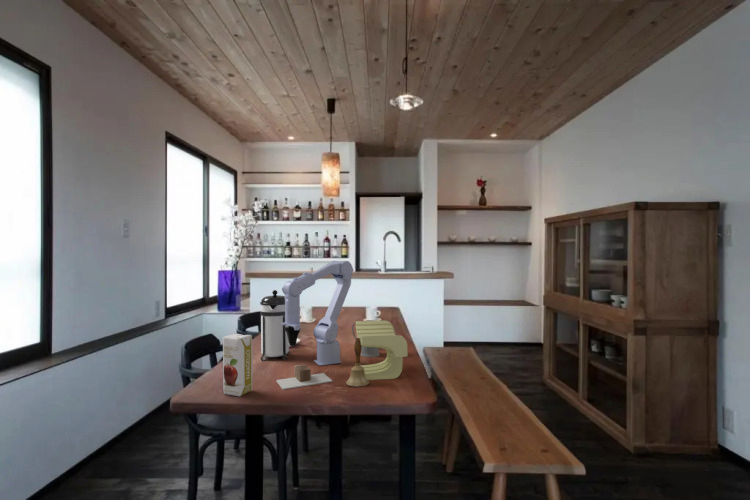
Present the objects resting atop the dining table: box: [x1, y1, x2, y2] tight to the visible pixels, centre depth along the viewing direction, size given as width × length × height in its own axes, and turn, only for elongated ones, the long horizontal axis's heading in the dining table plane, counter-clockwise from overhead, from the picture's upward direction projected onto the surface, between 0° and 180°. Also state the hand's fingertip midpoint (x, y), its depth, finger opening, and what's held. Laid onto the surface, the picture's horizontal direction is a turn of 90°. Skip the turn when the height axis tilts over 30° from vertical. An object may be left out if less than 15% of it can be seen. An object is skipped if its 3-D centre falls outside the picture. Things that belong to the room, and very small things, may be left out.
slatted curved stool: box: [355, 319, 408, 381], centre depth 152 cm, size 30×16×18 cm, turn 7°
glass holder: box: [351, 319, 381, 358], centre depth 181 cm, size 9×14×15 cm, turn 58°
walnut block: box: [294, 364, 312, 382], centre depth 145 cm, size 4×4×7 cm
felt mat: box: [275, 372, 333, 390], centre depth 143 cm, size 18×10×1 cm, turn 117°
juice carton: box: [222, 333, 253, 397], centre depth 132 cm, size 8×9×19 cm
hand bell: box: [345, 337, 370, 388], centre depth 141 cm, size 8×8×16 cm
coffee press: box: [259, 289, 290, 361], centre depth 178 cm, size 17×16×30 cm
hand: (292, 345), depth 157 cm, fingers closed
